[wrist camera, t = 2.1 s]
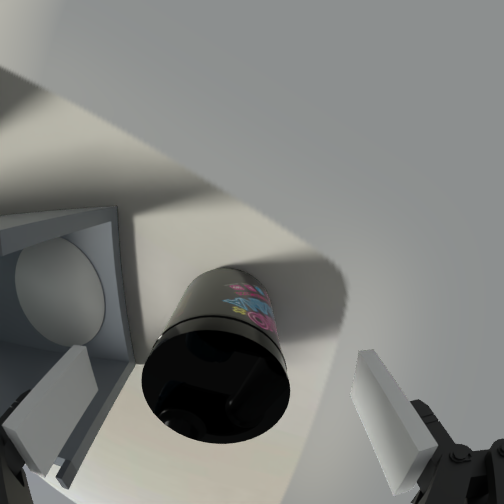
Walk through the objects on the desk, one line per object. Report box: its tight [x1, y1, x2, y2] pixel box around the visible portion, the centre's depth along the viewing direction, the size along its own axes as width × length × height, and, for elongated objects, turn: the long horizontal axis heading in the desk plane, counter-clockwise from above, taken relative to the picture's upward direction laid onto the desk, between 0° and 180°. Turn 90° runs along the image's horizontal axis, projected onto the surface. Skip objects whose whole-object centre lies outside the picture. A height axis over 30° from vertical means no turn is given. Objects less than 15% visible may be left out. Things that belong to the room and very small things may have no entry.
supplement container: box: [142, 268, 290, 444], centre depth 18 cm, size 7×7×10 cm
